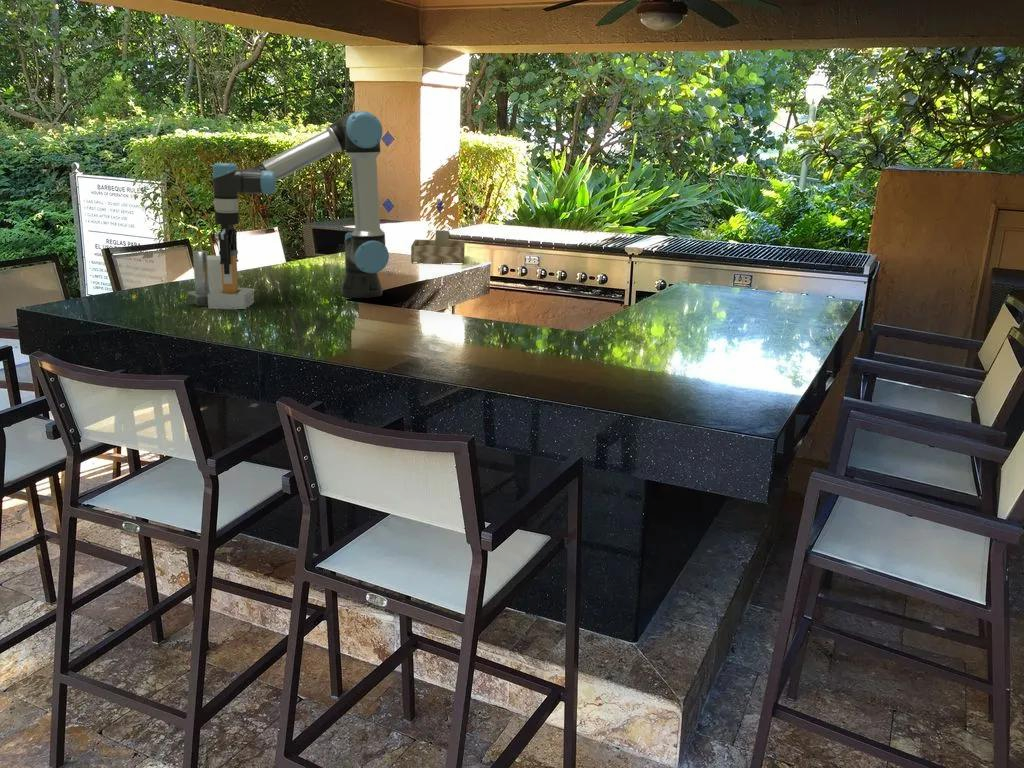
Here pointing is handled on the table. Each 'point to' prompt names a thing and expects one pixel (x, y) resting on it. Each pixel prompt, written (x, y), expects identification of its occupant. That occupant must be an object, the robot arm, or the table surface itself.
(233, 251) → the wedge pin
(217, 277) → the foam cup
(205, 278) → the grey angular stepped piece
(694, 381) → the table surface
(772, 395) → the table surface
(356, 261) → the robot arm
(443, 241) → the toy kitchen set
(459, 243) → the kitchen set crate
